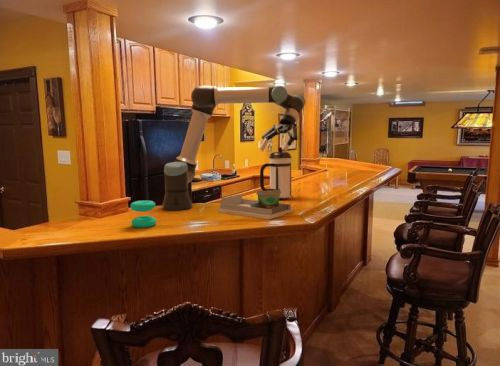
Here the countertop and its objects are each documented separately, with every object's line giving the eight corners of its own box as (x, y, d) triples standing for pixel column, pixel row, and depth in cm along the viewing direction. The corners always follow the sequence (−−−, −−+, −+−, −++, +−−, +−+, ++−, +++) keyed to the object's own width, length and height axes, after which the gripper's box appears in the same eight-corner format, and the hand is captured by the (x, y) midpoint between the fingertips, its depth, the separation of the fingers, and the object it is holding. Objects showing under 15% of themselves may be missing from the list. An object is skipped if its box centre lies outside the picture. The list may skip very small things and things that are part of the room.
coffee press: (272, 196, 224) (271, 146, 220) (297, 198, 217) (297, 146, 213) (259, 201, 209) (259, 147, 205) (286, 202, 202) (286, 147, 198)
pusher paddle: (242, 209, 174) (242, 202, 174) (259, 205, 185) (259, 198, 185) (253, 211, 171) (253, 203, 170) (269, 206, 181) (269, 199, 181)
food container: (262, 213, 168) (262, 191, 166) (256, 211, 173) (256, 189, 172) (285, 210, 173) (285, 189, 171) (279, 208, 178) (279, 188, 177)
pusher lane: (218, 211, 180) (217, 198, 179) (243, 205, 196) (243, 193, 195) (268, 219, 162) (268, 204, 161) (292, 211, 177) (292, 198, 176)
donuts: (159, 202, 152) (135, 205, 146) (160, 225, 154) (137, 229, 147) (149, 199, 160) (126, 201, 154) (150, 221, 161) (127, 225, 155)
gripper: (313, 123, 185) (297, 155, 175) (271, 125, 200) (255, 154, 190) (308, 112, 180) (292, 144, 170) (266, 115, 195) (249, 144, 185)
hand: (272, 149), depth 180 cm, fingers open, 13 cm apart
